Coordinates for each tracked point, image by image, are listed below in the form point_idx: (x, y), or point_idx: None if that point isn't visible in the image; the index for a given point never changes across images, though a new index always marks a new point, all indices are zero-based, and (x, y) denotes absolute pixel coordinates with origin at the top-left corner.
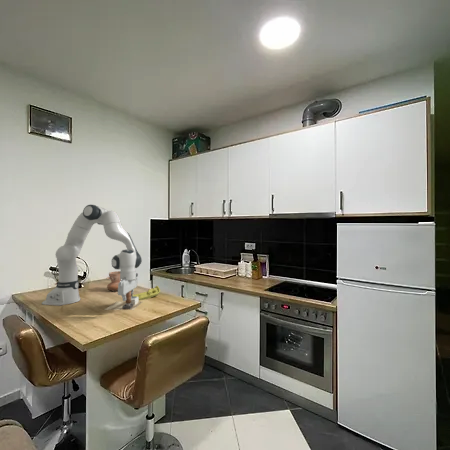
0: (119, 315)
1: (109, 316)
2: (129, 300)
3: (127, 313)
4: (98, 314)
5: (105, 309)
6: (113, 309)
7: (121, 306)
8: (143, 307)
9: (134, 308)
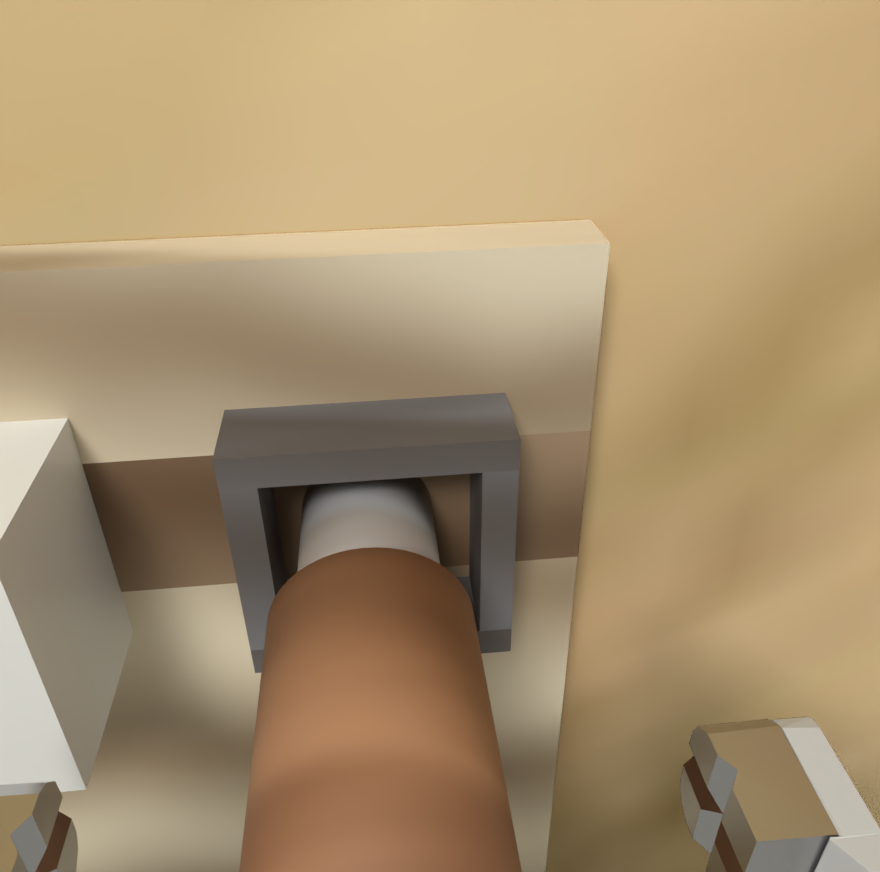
0: (839, 473)
1: (849, 633)
2: (453, 647)
3: (719, 344)
4: (682, 831)
5: (529, 859)
6: (539, 745)
7: None
8: (60, 20)
9: (464, 271)
